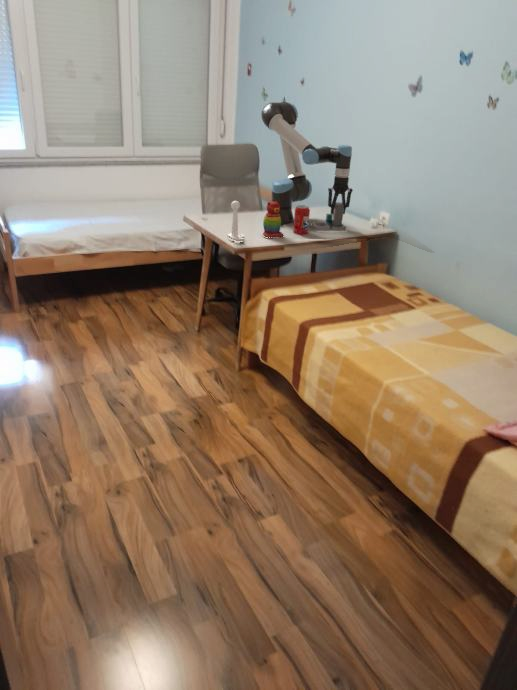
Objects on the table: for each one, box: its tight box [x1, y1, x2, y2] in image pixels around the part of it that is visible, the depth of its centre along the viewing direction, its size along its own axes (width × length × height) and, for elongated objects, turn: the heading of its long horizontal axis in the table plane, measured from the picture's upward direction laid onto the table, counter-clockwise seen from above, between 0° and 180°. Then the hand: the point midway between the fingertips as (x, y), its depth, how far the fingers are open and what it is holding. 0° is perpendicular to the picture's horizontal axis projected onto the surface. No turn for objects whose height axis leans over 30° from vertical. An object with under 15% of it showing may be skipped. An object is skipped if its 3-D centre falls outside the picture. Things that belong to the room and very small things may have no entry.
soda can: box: [292, 204, 311, 236], centre depth 278 cm, size 8×8×15 cm
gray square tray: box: [309, 221, 348, 233], centre depth 292 cm, size 17×17×3 cm
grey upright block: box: [332, 201, 344, 226], centre depth 289 cm, size 4×6×12 cm, turn 9°
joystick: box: [227, 200, 245, 242], centre depth 263 cm, size 11×8×20 cm
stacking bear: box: [262, 201, 285, 239], centre depth 273 cm, size 11×10×18 cm
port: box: [325, 213, 347, 231], centre depth 293 cm, size 8×13×6 cm, turn 9°
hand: (336, 219), depth 290 cm, fingers closed on grey upright block, 4 cm apart
